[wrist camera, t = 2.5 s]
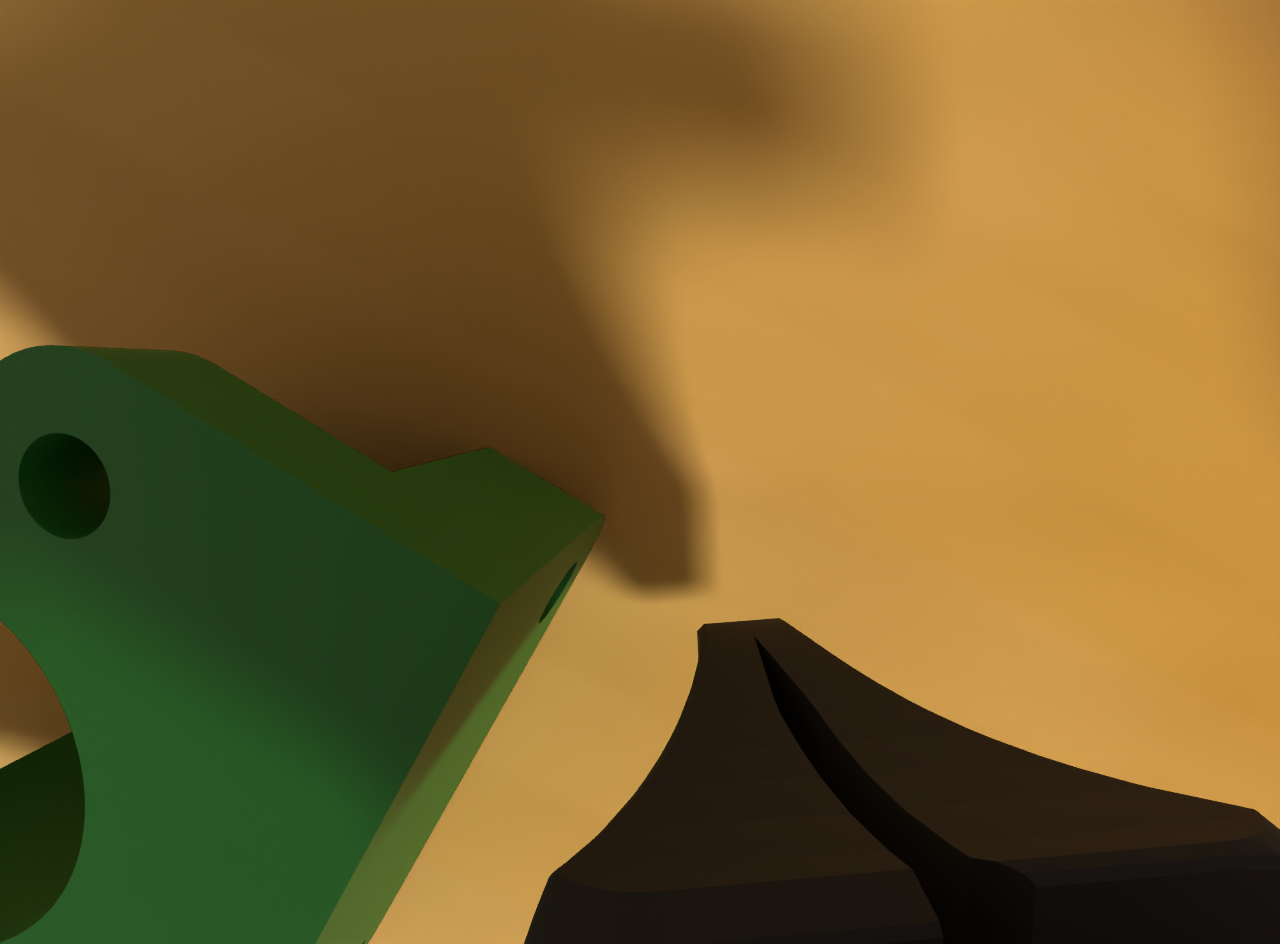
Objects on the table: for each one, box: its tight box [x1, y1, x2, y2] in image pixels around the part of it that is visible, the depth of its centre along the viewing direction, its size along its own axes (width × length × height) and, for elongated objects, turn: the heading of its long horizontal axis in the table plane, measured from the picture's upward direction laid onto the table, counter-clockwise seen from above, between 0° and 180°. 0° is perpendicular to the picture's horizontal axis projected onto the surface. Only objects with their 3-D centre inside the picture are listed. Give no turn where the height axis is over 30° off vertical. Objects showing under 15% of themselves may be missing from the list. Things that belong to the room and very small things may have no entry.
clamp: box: [0, 345, 605, 944], centre depth 10 cm, size 12×6×9 cm, turn 145°
